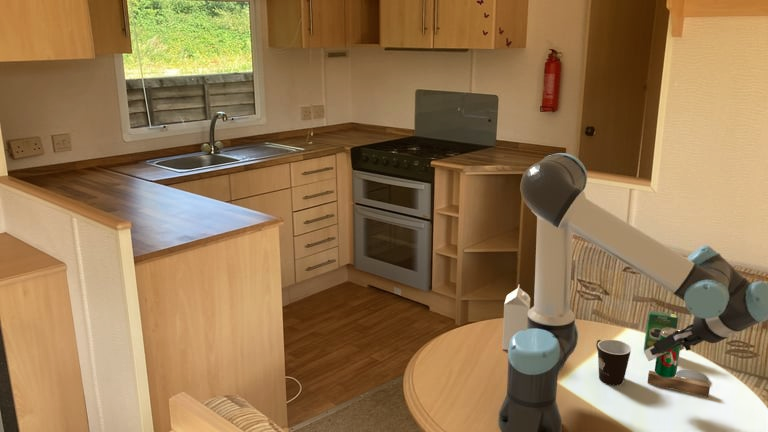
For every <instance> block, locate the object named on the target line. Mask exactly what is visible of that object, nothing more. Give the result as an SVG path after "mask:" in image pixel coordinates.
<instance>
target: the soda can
mask: <svg viewBox="0 0 768 432" xmlns="http://www.w3.org/2000/svg"><path fill="white" fill-rule="evenodd" d="M675 331H680V330H679V329H678V328H677V329H674V328H663V329H662V331H661V332H660V335H659V340H662V339H663V338H665V337H667V336H669V335H671V334H673V333H674V332H675ZM680 346H681V345H680ZM680 346H678V347H676V348H673V349H671V350H669V351H666V353H665V354H663V355H661V356H659V357H657V358H655V365H654V366H655V367H654V372H656V374H657V375H659V376H661V377H663V378H673V377H674V376H676V374H677V372H678V371H677V370H678V364H679V358H680V352H681V351H680Z"/></svg>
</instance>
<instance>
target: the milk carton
mask: <svg viewBox="0 0 768 432" xmlns="http://www.w3.org/2000/svg"><path fill="white" fill-rule="evenodd" d="M530 309H531V297H530V295H529V294H528V293H527V292H526V291H524V290H523V289H522V288H521V287H520V284H518V286H517V288H516V289H514V290H513V291H511V292H510V293H508V294H507V295H506V297H505V301H504V304H503V328H502V329H503V330H502V345H501V347H502V350H506V351H508V348H509V344H510V340H511V338H512V337H513V336H514V335H515V334H516V333H517V332H519V331H522V330H523V331H525V330H526V329H527V320H528V319H527V318H528V311H529V310H530Z"/></svg>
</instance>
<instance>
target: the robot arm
mask: <svg viewBox="0 0 768 432" xmlns="http://www.w3.org/2000/svg"><path fill="white" fill-rule="evenodd" d="M587 172H588V171H587V169H586V167H585V165H584V164H583V161H581V160H580V159H579V158H578V157H576V156H574V155H572V154H570V153H563V152H559V153H553V154H550V155H547V156H545V157H544V158H543V159H542V160H540V161H539V162H536V163H534V164H532V165H531V166H529V168H527V169H526V171H525V172H524V174H523V175H522V178H521V181H520V185H519V189H520V194H521V195H520V196H521V198H522V200H523V202H524V204H526V206H527V207H528V208H529V209H530V210H531V212H532V213H533V214H534V215H535V216H536V241H535V243H536V245H535V248H536V249H535V267H534V269H535V270H534V271H535V273H534V295H533V299H534V300H533V306H532V307H530V310H529V311H528V318H527V319H528V320H527V329H526V330H525V331H523V330H522V331H519V332H517V333H516V334H515V335H514V336H513V337H512V338H511V340H510V344H509V348H508V350H507V358H508V359H507V376H506V377H507V380H506V381H507V382H506V396H505V397H504V400H503V402H502V404H501V406H500V409H499V412H498V417H497V419H498V421H497V422H498V423H497V425H498V427H499V429H500V430H501V432H562V430H563V429H562V428H563V427H562V426H563V421H562V416H561V413H560V409H559V406H558V403H557V393H558V392H557V391H558V377H559V374H560V373H561V371H562V370H563V367H564V365H565V364H566V362H567V360H569V358H570V356H572V354H573V353H574V352H575V350H576V347H577V345H578V341H579V340H578V339H579V331H578V327H577V324H576V315H575V313H574V312H573V311H572V310H571V309H570V298H571V297H570V296H571V295H570V294H571V279H572V262H573V261H572V259H573V258H572V257H573V243H574V242H573V241H574V240H573V239H574V234H576V235H577V236H579V237H581V238H582V239H584V240H585V241H587V242H589V243H590V244H592V245H593V246H595V247H596V248H598V249H600V250H602V251H603V252H605V253H607V254H608V255H609V256H611V257H613V258H615V259H617V260H618V261H619V262H621V263H623V264H625V265H626V266H628V267H629V268H631V269H633V270H634V271H636V272H637V273H639V274H641V275H642V276H644V277H646V279H649V280H650V281H652V282H654V283H655V284H657V285H658V286H660V287H662V288H663V289H665V290H666V291H668V292H670V293H672V295H675V296H676V297H678V298H679V299H681V300H682V301H683V302H684V305H685V307H686V309H687V310H688V311H689V313H690V314H692V315H693V316H694V318H693V322H692V324H690V325H688V326H686V327H685V328H683V329H681V330H679V331H675V332H674V333H673V334H671V335H669V336H667V337H665V338H663V339H662V340H656V342H655V343H654V344H653V346H652V347H650V348H648V349H646V350H645V351H644V350H643V353H644V355H645V357H646V359H647V361H648V362H650V361H652V360H656V358H657V357H659V356H661V355H663V354H665V353H666V351H669V350H671V349H673V348H676V347H678V346H680V345H681V346H680V352H681V351H682V350H685V351H686V352H687V351H690V350H692V348H691V346H693V347H695V346H697V345H698V344H700V343H703V342H706V343H710V344H717V343H719V342H721V341H724V340H726V339H729V337H732V336H733V337H735V338H736V337H739V333H740V332H742V331H745V330H747V329H748V328H751V327H753V326H757V324H761V323H763V322H766V321H767V320H768V283H766V282H765V281H761V280H760V281H756V282H752V283H751V281H750V280H748V279H747V278H745V277H744V276H743V275H742V274H741V273H740V272H739V271H738V270H737V269H735V267H733V265H732V264H730V263H729V262H728V261H727V260H726V259H725V258H724V257H723V256H722V255H721V253H719V252H717V251H716V250H715V249H713V248H712V247H711V246H709V245H708V244H707V245H706V244H705V245H702V246H700V247H698V248H697V249H696V250H693V252H692V253H690V254H689V255H688V257H685V256H683V255H681V254H680V253H678V252H676V251H675V250H673V249H671V248H670V247H669V246H666V245H665V244H663V243H662V242H660V241H658V240H656V239H655V238H653V237H651V236H650V235H648V234H647V233H645V232H643V231H641V230H640V229H638V228H636V227H634V226H633V225H631V224H630V223H628V222H626V221H625V220H623V219H621V218H620V217H618V216H616V215H615V214H613V213H611V212H609V211H608V210H606V209H605V208H603V207H601V206H599V205H598V204H596V203H595V202H592V201H591V200H589V199H587V197H586V194H585V191H584V190H585V188H586V186H587V182H588V173H587Z"/></svg>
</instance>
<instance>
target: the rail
mask: <svg viewBox="0 0 768 432" xmlns="http://www.w3.org/2000/svg"><path fill="white" fill-rule="evenodd" d="M647 384H650V385H654V386H657V387H658V386H659V387H662V388H667V389H670V390H675V391H679V392H683V393H687V394H690V395H691V394H692V395H696V396H700V395H701V397H704V396H706V397H705V398H709V395H710V390H711V389H710V388H711V383H709V382H708V383H703V382H699V381H694V380H690V379H685V378H681V377H677V376H674V377H673V378H663V377H661V376H659V375H657V374H656V372H655V370H648V375H647Z"/></svg>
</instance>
